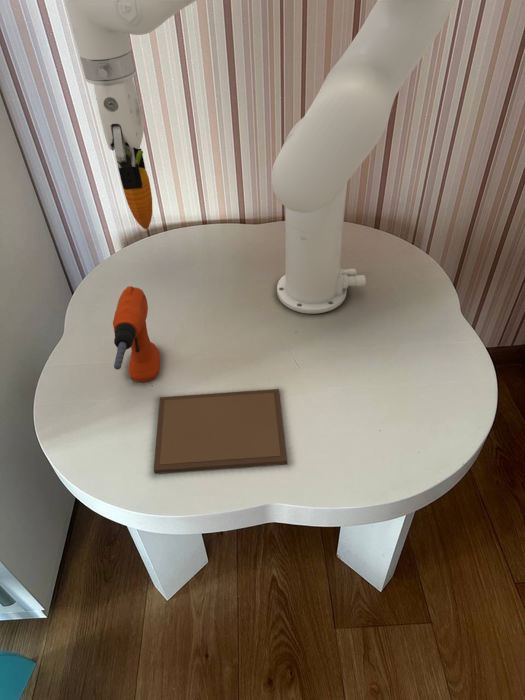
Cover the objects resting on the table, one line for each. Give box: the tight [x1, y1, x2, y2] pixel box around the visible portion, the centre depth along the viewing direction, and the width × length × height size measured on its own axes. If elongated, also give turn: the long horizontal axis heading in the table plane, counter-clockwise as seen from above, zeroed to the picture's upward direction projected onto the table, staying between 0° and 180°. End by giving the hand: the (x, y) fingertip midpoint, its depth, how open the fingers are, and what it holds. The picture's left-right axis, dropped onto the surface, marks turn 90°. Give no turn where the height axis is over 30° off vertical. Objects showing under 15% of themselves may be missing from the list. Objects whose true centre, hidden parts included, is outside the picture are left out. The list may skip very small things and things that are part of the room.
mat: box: [153, 388, 288, 474], centre depth 81 cm, size 18×13×1 cm
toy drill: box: [112, 285, 161, 383], centre depth 82 cm, size 5×19×15 cm, turn 3°
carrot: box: [119, 149, 153, 230], centre depth 97 cm, size 5×5×15 cm
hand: (134, 178), depth 96 cm, fingers closed on carrot, 4 cm apart
